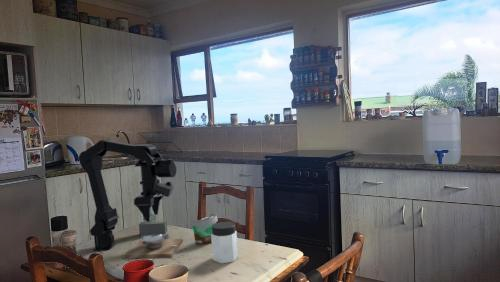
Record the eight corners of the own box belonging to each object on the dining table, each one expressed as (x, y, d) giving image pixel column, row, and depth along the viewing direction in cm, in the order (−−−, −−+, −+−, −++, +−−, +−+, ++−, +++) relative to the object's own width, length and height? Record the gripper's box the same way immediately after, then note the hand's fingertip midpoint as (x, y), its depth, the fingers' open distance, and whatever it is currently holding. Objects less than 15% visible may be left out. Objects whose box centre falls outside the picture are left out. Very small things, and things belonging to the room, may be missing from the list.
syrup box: (155, 230, 165) (152, 199, 164) (157, 234, 160) (155, 201, 159) (142, 233, 163) (139, 201, 162) (144, 236, 158) (141, 203, 157)
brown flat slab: (123, 258, 134) (122, 249, 133) (139, 243, 150) (139, 235, 149) (171, 256, 132) (171, 248, 132) (183, 241, 148) (182, 234, 148)
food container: (204, 248, 140) (202, 222, 139) (192, 245, 143) (191, 220, 143) (225, 238, 149) (223, 214, 149) (214, 236, 153) (212, 212, 153)
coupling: (137, 245, 137) (135, 226, 136) (145, 237, 146) (144, 220, 145) (164, 244, 136) (163, 225, 135) (171, 236, 145) (170, 219, 144)
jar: (214, 265, 123) (212, 230, 122) (211, 256, 131) (209, 223, 130) (240, 261, 125) (238, 226, 124) (235, 252, 133) (233, 220, 132)
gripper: (162, 181, 129) (165, 224, 130) (176, 172, 148) (179, 210, 149) (131, 182, 130) (135, 225, 131) (149, 174, 149) (152, 211, 150)
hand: (152, 217), depth 140 cm, fingers open, 9 cm apart
